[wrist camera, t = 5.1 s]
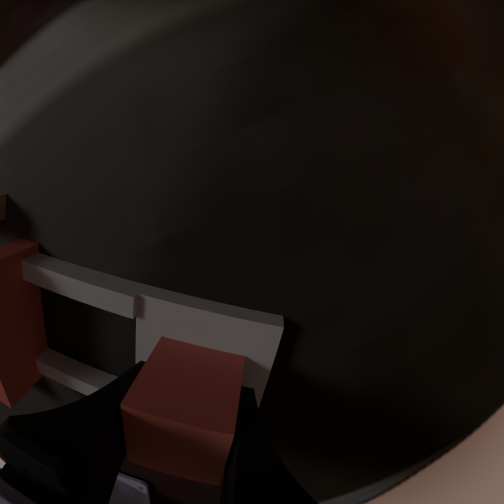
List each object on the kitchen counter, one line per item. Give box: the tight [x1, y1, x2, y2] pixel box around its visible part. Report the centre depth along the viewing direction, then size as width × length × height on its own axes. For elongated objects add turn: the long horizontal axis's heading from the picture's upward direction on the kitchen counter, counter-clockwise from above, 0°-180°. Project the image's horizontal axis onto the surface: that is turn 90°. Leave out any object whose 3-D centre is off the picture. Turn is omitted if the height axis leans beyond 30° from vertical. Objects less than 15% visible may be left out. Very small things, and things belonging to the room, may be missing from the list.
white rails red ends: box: [0, 238, 284, 486], centre depth 11 cm, size 8×14×5 cm, turn 78°
